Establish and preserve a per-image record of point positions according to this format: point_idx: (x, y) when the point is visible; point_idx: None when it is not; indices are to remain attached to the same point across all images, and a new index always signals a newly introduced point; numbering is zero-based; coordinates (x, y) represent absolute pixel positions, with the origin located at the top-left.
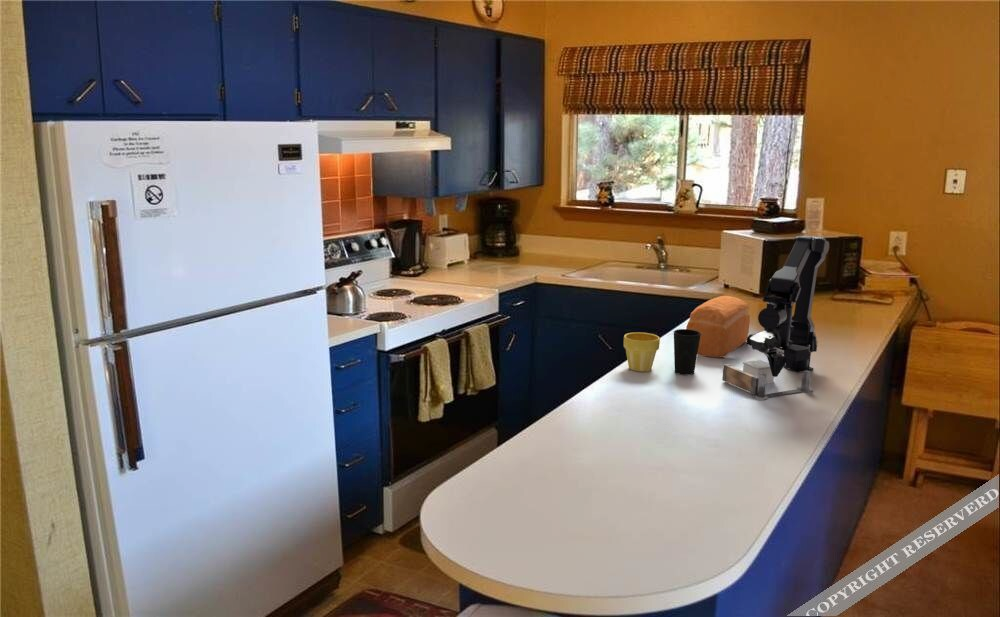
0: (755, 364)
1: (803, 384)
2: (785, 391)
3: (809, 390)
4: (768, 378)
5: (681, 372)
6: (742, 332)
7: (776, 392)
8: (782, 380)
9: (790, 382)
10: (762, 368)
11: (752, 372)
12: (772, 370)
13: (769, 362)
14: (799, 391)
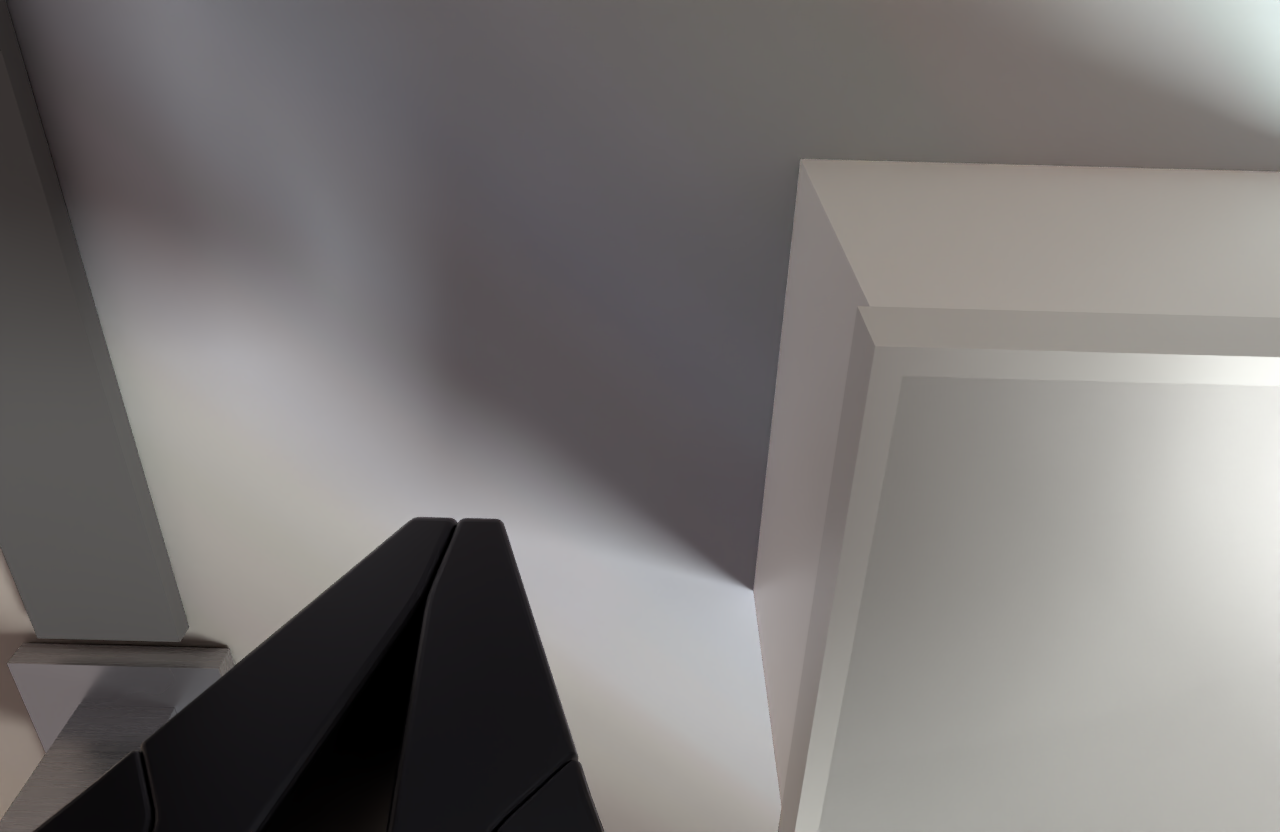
0: (1274, 569)
1: (77, 784)
2: (60, 352)
3: (43, 744)
4: (776, 534)
5: None
6: None
7: (12, 96)
8: (740, 760)
9: (597, 790)
10: (836, 512)
11: (1120, 266)
12: (447, 618)
13: (549, 829)
14: (26, 587)
